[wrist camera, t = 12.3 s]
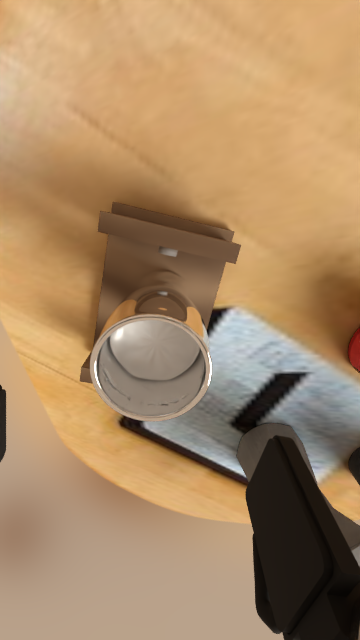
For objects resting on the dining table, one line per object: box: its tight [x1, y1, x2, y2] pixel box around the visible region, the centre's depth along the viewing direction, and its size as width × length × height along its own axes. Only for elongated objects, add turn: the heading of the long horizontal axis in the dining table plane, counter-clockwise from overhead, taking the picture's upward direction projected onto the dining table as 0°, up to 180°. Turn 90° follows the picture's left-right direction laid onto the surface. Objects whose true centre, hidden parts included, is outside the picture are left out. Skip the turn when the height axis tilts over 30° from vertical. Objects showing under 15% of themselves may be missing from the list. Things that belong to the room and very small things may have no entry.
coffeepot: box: [237, 423, 360, 634], centre depth 29 cm, size 15×9×18 cm, turn 148°
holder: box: [80, 202, 241, 383], centre depth 26 cm, size 17×12×7 cm
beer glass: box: [90, 271, 212, 421], centre depth 21 cm, size 7×7×15 cm
